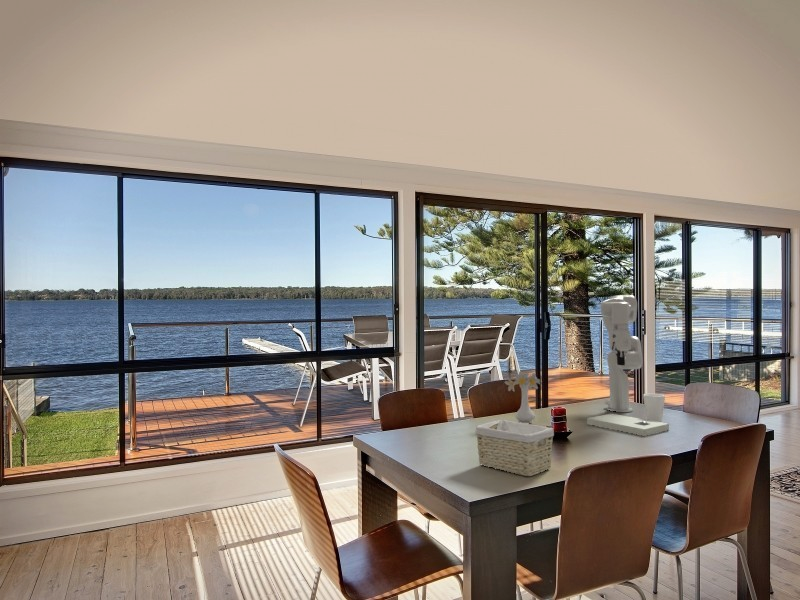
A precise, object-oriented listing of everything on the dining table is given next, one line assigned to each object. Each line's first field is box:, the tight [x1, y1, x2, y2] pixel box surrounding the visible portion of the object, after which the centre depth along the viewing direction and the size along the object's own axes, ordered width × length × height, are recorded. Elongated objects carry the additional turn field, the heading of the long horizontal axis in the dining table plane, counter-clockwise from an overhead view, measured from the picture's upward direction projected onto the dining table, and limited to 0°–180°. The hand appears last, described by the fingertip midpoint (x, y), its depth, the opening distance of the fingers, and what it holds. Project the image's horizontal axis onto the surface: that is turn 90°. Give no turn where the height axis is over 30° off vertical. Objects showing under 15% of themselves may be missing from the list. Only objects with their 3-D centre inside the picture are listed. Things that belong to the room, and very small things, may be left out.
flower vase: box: [504, 370, 541, 424], centre depth 272 cm, size 13×18×25 cm
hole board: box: [586, 413, 670, 437], centre depth 258 cm, size 30×18×3 cm, turn 33°
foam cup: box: [643, 392, 666, 423], centre depth 268 cm, size 10×9×13 cm
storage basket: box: [474, 419, 555, 477], centre depth 200 cm, size 24×16×15 cm
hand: (621, 364), depth 274 cm, fingers closed
